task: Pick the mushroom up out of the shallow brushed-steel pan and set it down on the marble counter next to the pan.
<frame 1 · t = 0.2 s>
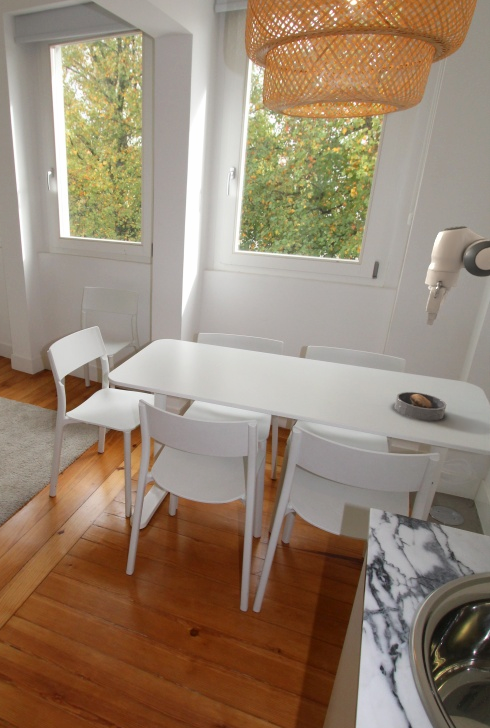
hand: (431, 321, 155), 32 cm above the table, tool pointing down, fingers open, 8 cm apart
pan: (418, 412, 165), on the table
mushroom: (418, 411, 165), resting on pan
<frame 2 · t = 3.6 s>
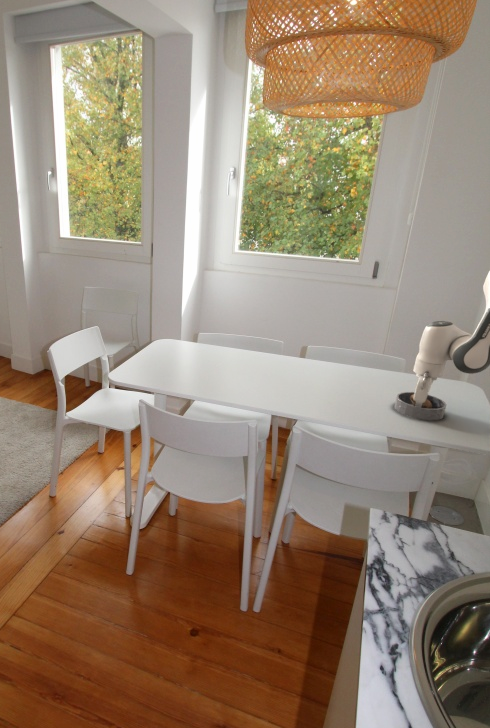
hand: (419, 405, 164), 3 cm above the table, tool pointing down, fingers closed on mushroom, 7 cm apart
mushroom: (418, 411, 165), resting on pan, touching gripper
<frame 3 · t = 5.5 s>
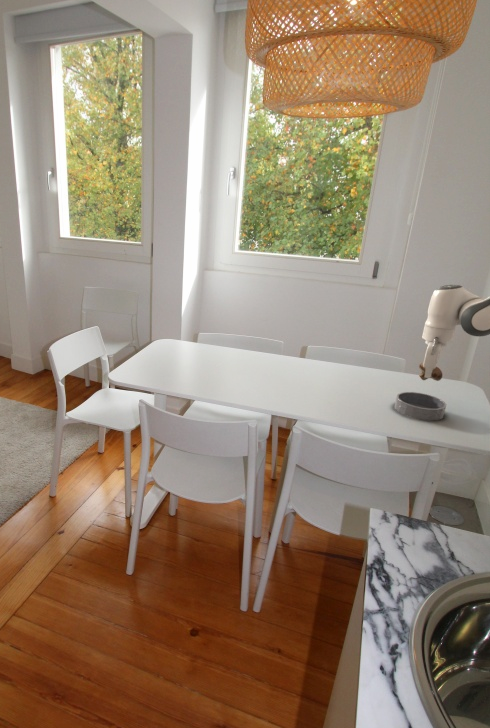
hand: (428, 373, 160), 14 cm above the table, tool pointing down, fingers closed on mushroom, 7 cm apart
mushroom: (428, 380, 161), point 12 cm above the table, touching gripper
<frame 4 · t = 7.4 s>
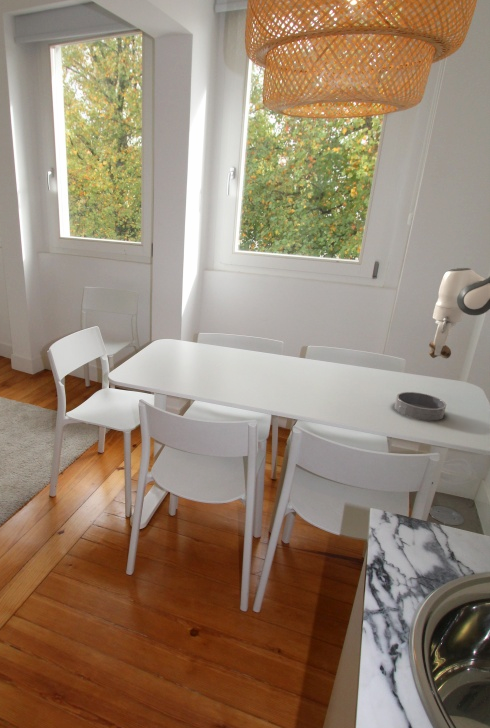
hand: (438, 351, 170), 18 cm above the table, tool pointing down, fingers closed on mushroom, 7 cm apart
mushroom: (437, 358, 171), point 16 cm above the table, touching gripper
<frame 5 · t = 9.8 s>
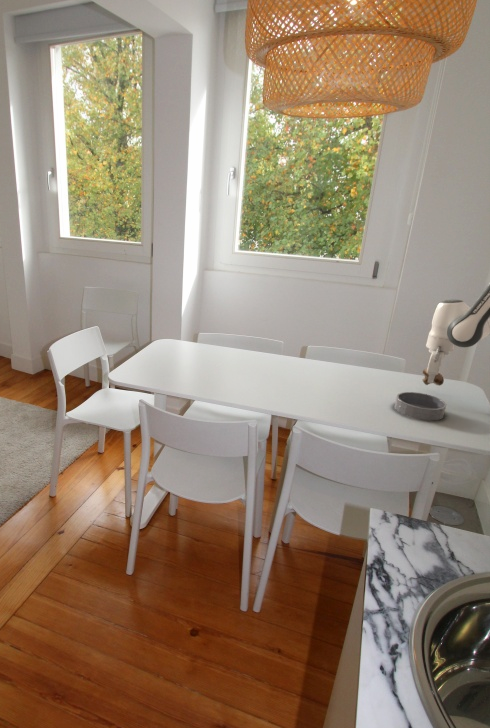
hand: (431, 379, 176), 7 cm above the table, tool pointing down, fingers closed on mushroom, 7 cm apart
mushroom: (430, 384, 177), point 5 cm above the table, touching gripper
when the fingers open (2 cm above the table, at t = 11.7 s): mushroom stays where it is, on the table.
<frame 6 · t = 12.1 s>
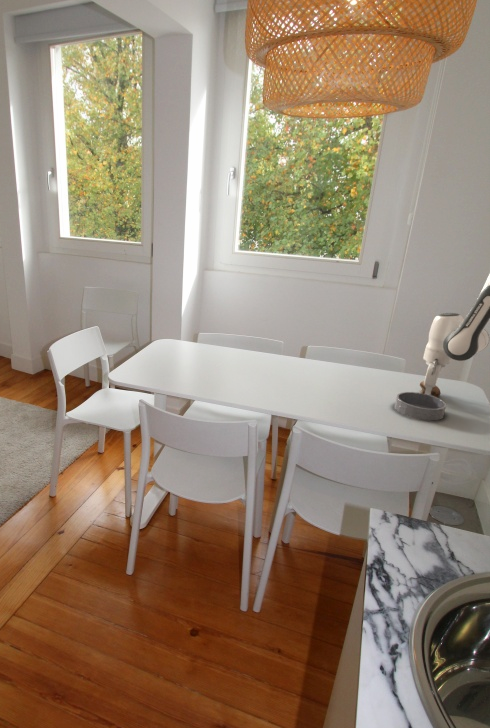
hand: (428, 390, 178), 2 cm above the table, tool pointing down, fingers open, 8 cm apart
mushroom: (427, 397, 179), on the table
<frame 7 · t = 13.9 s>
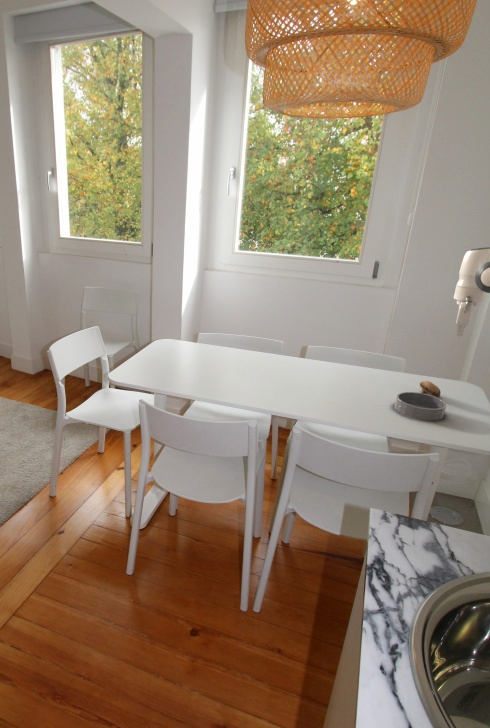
hand: (459, 333, 170), 25 cm above the table, tool pointing down, fingers open, 8 cm apart
nothing on the table moved.
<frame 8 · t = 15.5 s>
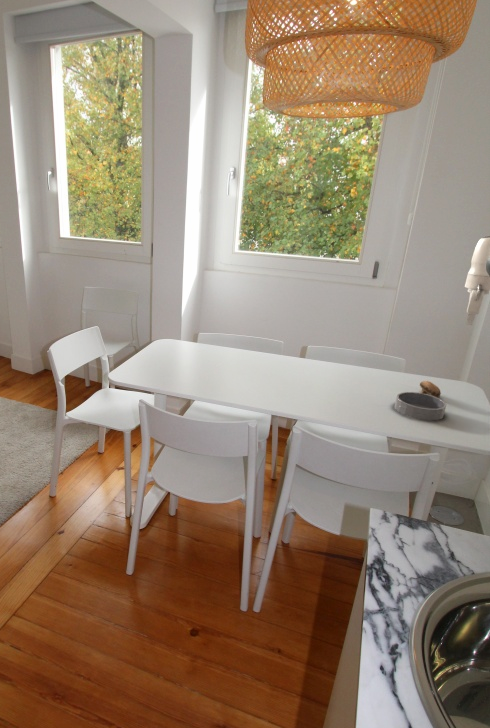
hand: (469, 321, 169), 29 cm above the table, tool pointing down, fingers open, 8 cm apart
nothing on the table moved.
at the end: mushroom inside the target area (0.2 cm from its centre), on the table; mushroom touching table; the gripper is holding nothing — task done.
